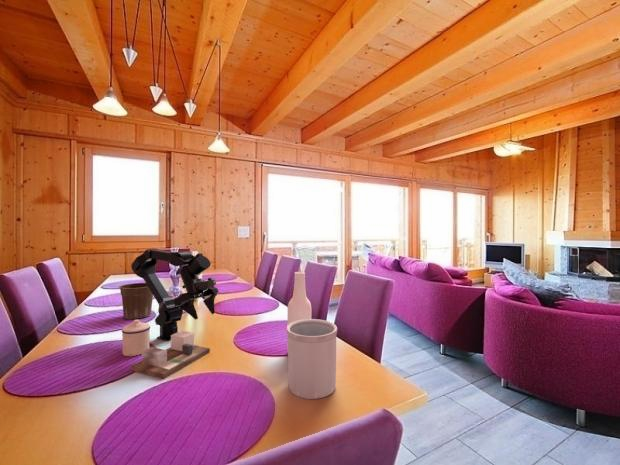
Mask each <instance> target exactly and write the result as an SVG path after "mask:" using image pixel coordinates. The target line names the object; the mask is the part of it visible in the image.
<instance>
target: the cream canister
mask: <svg viewBox="0 0 620 465" xmlns="http://www.w3.org/2000/svg"><path fill="white" fill-rule="evenodd" d="M150 329H151V325H150V324H149V323H146V322H142V321H140V319H133V322H131V323H130V324H128V325H126V326H124V327H123V328H122V330H121V333H122V335H121V336H122V355H123V356H126V357H135V356H136V355H137V356H140V354H141V355H142V351H143V350H145V349H148V348H150V347H151V346H150V344H151V342H150V339H151V337H150V336H151V335H150V331H151V330H150Z"/></svg>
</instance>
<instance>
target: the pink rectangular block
mask: <svg viewBox="0 0 620 465" xmlns="http://www.w3.org/2000/svg"><path fill="white" fill-rule="evenodd" d="M184 344H188V345H192V350H195V346H196V345H195V332H191V331H185V330H180V331H178V332H177V333H175V334H173V335H171V340H170V347H171V349H174V350H179V351H182V345H184Z"/></svg>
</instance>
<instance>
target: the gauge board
mask: <svg viewBox="0 0 620 465" xmlns="http://www.w3.org/2000/svg"><path fill="white" fill-rule="evenodd" d="M210 348H211V347H210ZM210 348H209V347H205V346H199V345H195V350H192V354H191V355H185V354H182V351H179V350H174V349H171V346H170V347H169V348H166V349H162V348H158V347H154V346H150V348H148V349H145V350H143V351H142V354H141V361H139V362H136V363H134V364H132V365H131V366H130V370H131V371H132V372H135V373H139V374H144V375H147V376H151V377H155V378H159V379H163V380H164V379H166V378H168V377H170V376H171V375H173V374H175V373H177V372H178V371H181V370H182V369H183V368H185V367H187V366H189V365H190V364H191V365H192V363H194V362H196V361H198V360H199V359H201V358H202V357H204V356H206V355H208V354H210V352H211V349H210Z"/></svg>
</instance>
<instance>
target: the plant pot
mask: <svg viewBox="0 0 620 465" xmlns="http://www.w3.org/2000/svg"><path fill="white" fill-rule="evenodd" d="M118 288H119V289H120V295H121V300H122V313H123V314H122V315H123V318H124V319H125V318H126V320H136V319H139V318H140V319H144V318H143V317H145V318H147V317H146V316H148V317H150V316H152V307H153V298H154V296H153V294H152V292H151V291H150V289H149V287H148V286H147V284H146V282H135V283H134V282H133V283H127V284H126V283H125V284H121V285H119V286H118ZM149 315H150V316H149Z"/></svg>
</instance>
